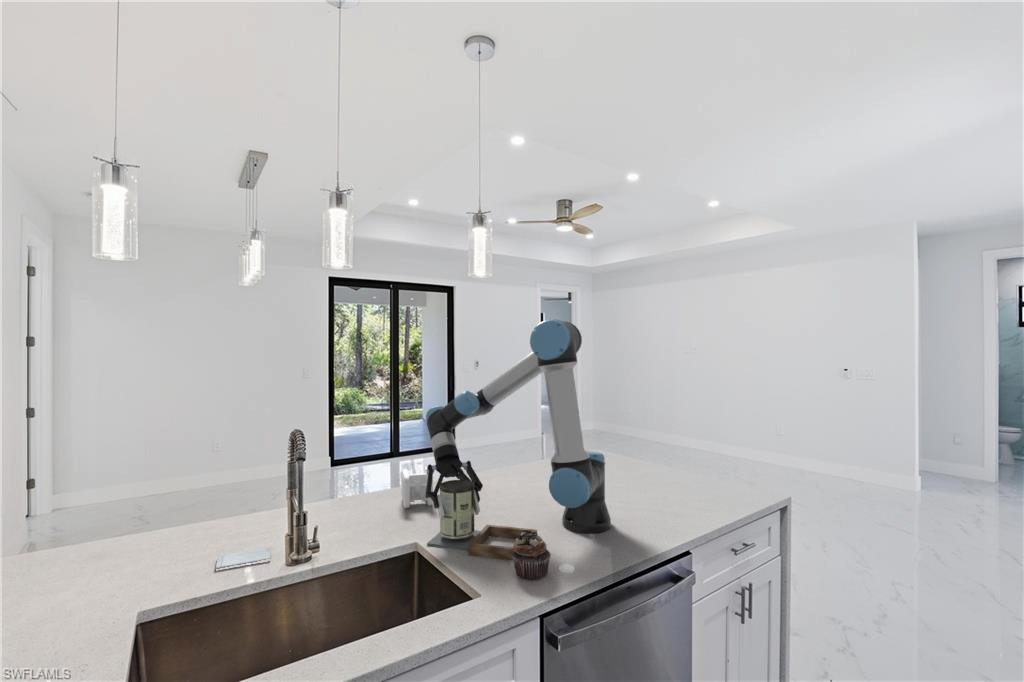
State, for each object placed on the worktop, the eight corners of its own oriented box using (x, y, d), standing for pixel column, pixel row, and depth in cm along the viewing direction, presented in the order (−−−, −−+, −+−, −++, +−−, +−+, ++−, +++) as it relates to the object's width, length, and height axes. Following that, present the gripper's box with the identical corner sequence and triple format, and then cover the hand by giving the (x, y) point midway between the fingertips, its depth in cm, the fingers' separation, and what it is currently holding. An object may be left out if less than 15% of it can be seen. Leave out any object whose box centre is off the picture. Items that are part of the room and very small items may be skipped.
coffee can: (454, 523, 149) (454, 477, 149) (481, 530, 143) (481, 482, 144) (431, 534, 140) (432, 485, 140) (459, 542, 135) (459, 491, 135)
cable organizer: (433, 508, 169) (433, 475, 169) (402, 511, 166) (402, 477, 167) (428, 496, 184) (428, 465, 184) (400, 498, 181) (400, 467, 181)
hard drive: (270, 546, 134) (218, 554, 129) (270, 557, 127) (215, 567, 121) (270, 552, 134) (218, 560, 128) (270, 564, 127) (215, 573, 121)
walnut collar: (536, 540, 141) (536, 529, 141) (523, 562, 126) (523, 550, 126) (487, 534, 145) (486, 524, 145) (468, 555, 130) (468, 544, 130)
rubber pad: (485, 533, 146) (485, 531, 146) (469, 550, 134) (469, 548, 134) (445, 529, 150) (445, 527, 150) (427, 545, 137) (427, 543, 137)
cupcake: (548, 583, 114) (548, 541, 115) (508, 580, 116) (508, 538, 116) (552, 566, 124) (552, 526, 124) (515, 563, 126) (515, 524, 126)
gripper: (475, 453, 161) (493, 516, 146) (407, 460, 151) (419, 527, 137) (481, 440, 156) (500, 503, 141) (411, 446, 147) (423, 514, 132)
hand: (460, 515), depth 139 cm, fingers closed on coffee can, 10 cm apart
